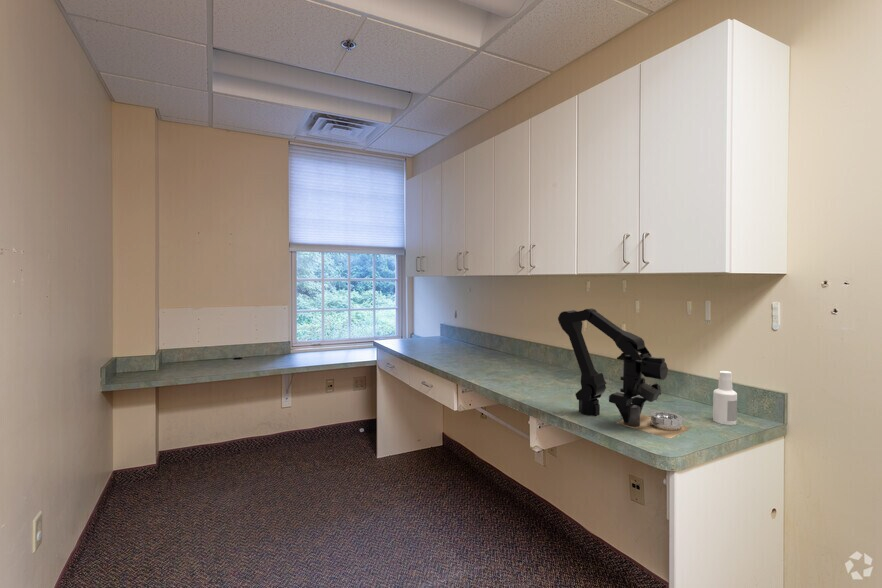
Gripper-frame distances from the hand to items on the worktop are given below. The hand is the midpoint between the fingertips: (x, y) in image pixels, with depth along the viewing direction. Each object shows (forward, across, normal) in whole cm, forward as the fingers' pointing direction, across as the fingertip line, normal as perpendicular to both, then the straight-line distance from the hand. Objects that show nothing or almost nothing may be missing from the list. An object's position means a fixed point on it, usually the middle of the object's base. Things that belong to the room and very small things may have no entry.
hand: (631, 420), depth 146 cm
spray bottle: (+2, +27, -18) cm, 33 cm away
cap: (+1, 0, 0) cm, 1 cm away
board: (+2, +4, -5) cm, 7 cm away
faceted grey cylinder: (+1, +7, -8) cm, 11 cm away
